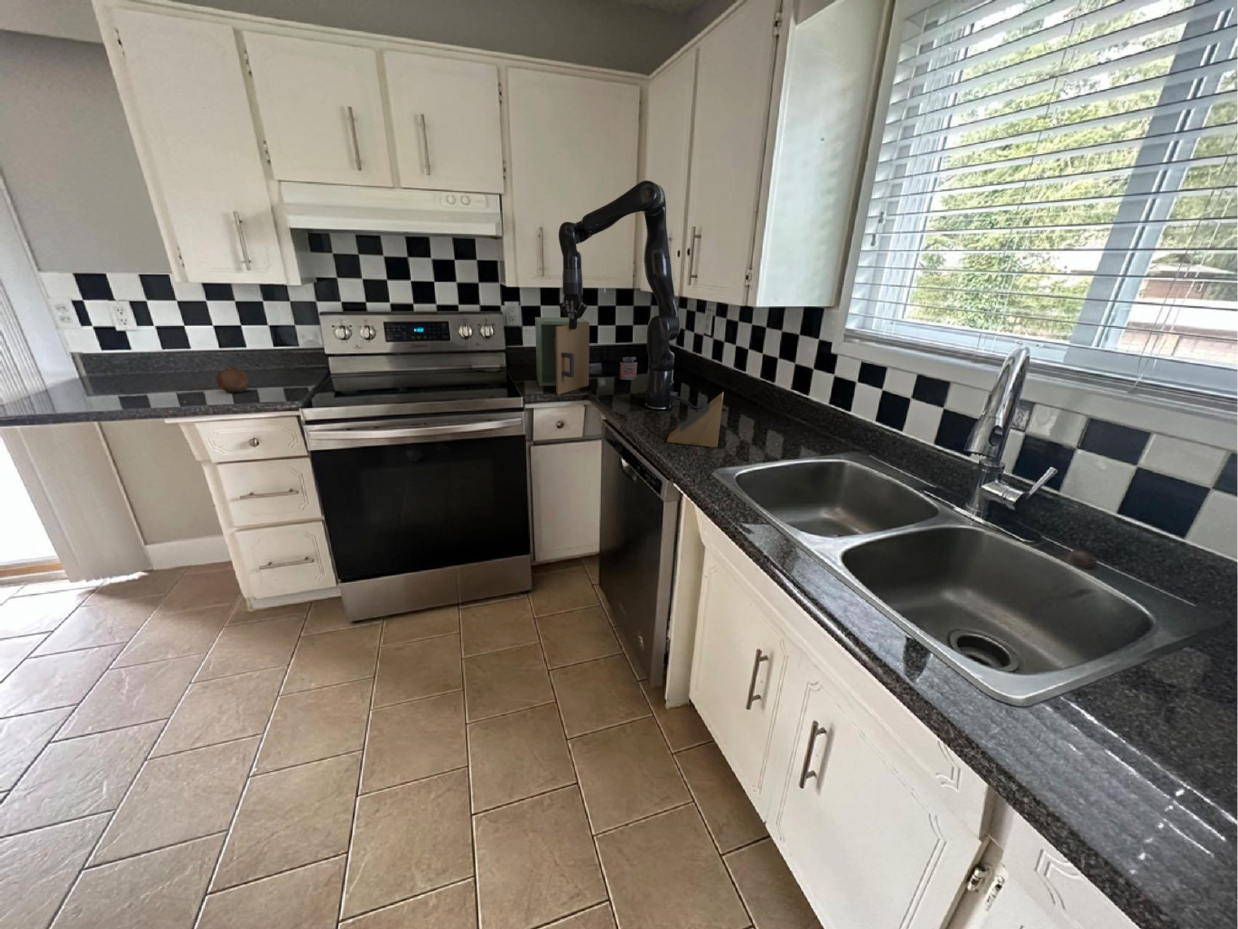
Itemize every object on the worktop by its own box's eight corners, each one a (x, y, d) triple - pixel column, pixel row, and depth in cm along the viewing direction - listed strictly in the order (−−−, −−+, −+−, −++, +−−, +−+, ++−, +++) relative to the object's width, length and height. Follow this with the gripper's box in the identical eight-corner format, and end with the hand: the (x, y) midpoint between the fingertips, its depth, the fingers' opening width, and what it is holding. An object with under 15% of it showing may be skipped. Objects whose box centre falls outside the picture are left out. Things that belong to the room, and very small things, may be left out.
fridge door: (598, 387, 211) (600, 323, 201) (568, 397, 195) (568, 328, 185) (586, 385, 214) (587, 322, 204) (556, 394, 198) (555, 326, 188)
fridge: (587, 385, 214) (588, 321, 204) (539, 386, 210) (537, 321, 200) (582, 377, 227) (582, 317, 217) (536, 378, 222) (535, 317, 212)
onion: (237, 397, 190) (234, 371, 190) (256, 392, 187) (253, 366, 188) (211, 394, 181) (207, 366, 181) (230, 389, 178) (227, 361, 179)
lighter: (620, 380, 226) (621, 357, 222) (618, 378, 229) (619, 356, 225) (637, 379, 228) (638, 357, 224) (635, 377, 231) (636, 356, 227)
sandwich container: (669, 433, 159) (673, 386, 153) (718, 438, 156) (723, 391, 151) (666, 442, 151) (669, 393, 146) (717, 447, 148) (723, 398, 143)
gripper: (552, 281, 188) (554, 328, 194) (579, 282, 180) (579, 331, 187) (566, 280, 193) (567, 327, 200) (592, 281, 186) (592, 329, 192)
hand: (573, 329), depth 193 cm, fingers closed
